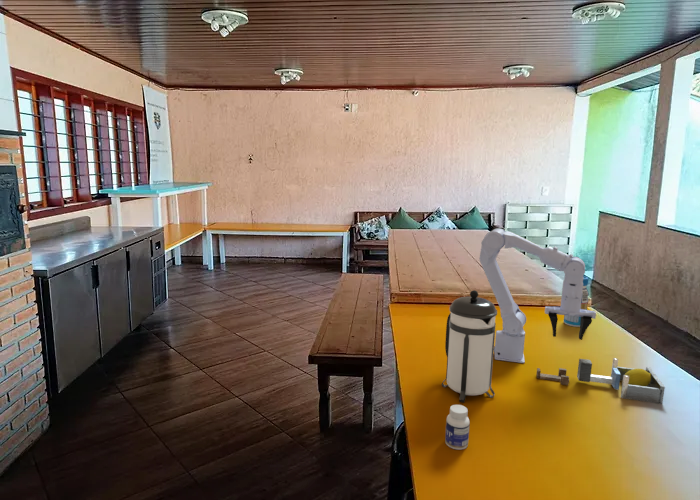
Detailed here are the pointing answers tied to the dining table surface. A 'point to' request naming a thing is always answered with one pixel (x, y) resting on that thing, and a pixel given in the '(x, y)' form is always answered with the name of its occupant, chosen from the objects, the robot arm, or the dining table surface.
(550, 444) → the dining table surface
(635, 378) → the lemon
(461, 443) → the pill bottle
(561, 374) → the track
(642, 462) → the dining table surface
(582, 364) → the rod
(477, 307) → the coffee press
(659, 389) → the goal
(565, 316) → the beverage bottle
